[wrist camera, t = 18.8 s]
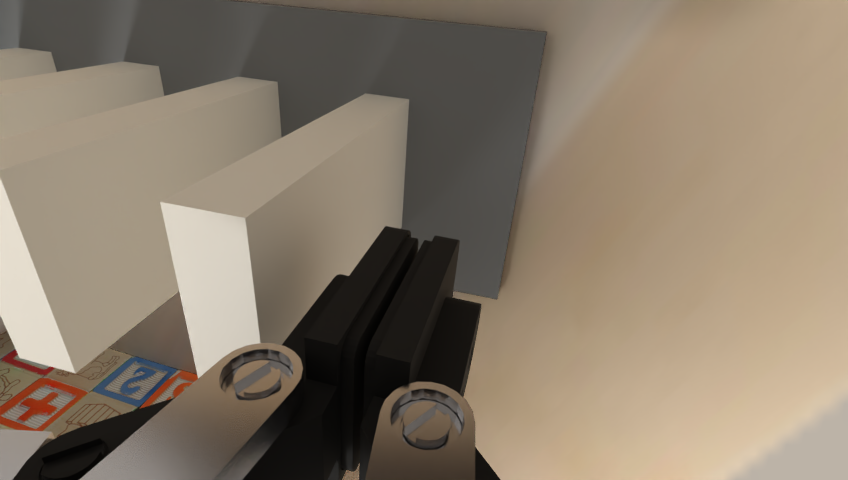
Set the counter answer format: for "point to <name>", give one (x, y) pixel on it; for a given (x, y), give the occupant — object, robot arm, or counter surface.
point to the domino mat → (339, 90)
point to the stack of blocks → (80, 390)
